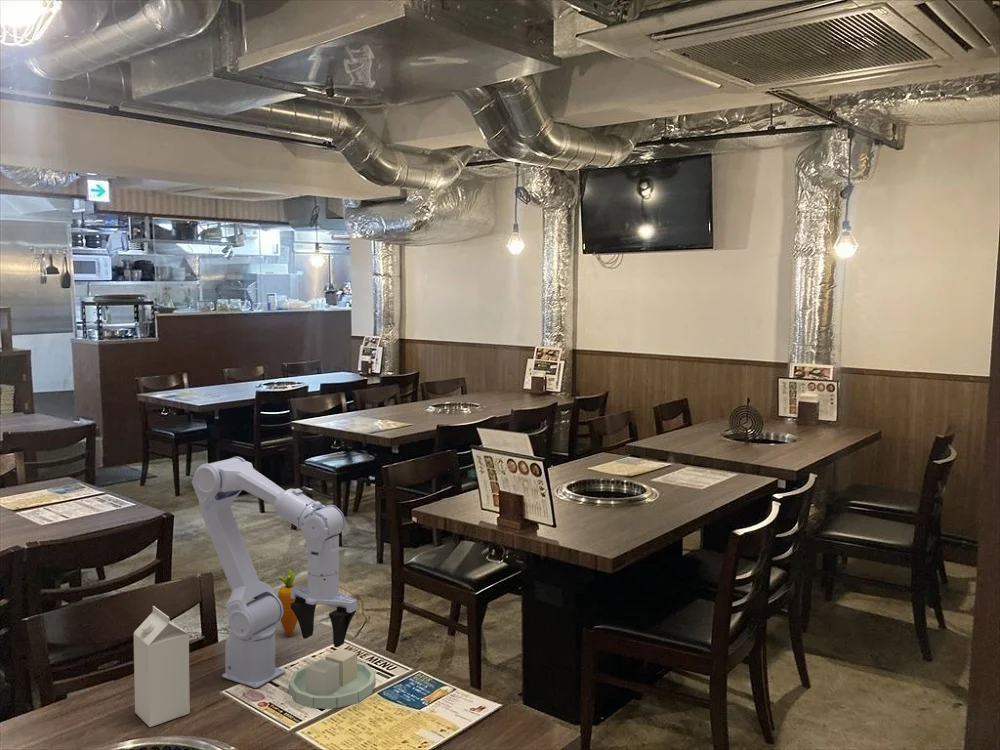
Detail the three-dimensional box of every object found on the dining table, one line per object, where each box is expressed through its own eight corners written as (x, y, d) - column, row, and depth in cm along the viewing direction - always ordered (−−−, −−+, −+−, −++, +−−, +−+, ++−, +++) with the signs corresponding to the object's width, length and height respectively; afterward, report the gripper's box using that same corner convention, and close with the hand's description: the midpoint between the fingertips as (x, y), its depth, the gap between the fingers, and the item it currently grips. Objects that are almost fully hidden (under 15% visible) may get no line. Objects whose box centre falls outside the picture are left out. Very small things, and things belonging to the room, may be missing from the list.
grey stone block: (305, 693, 149) (305, 667, 149) (321, 683, 153) (321, 658, 152) (324, 698, 147) (324, 672, 147) (339, 688, 151) (339, 663, 151)
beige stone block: (325, 680, 154) (325, 656, 154) (339, 671, 158) (339, 648, 157) (342, 686, 152) (342, 661, 152) (357, 677, 156) (357, 652, 155)
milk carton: (174, 699, 147) (172, 601, 145) (190, 714, 142) (188, 612, 140) (134, 713, 142) (132, 611, 140) (149, 728, 137) (147, 622, 135)
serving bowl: (272, 694, 149) (272, 684, 149) (327, 662, 163) (327, 652, 163) (338, 716, 142) (338, 705, 142) (390, 680, 156) (390, 670, 156)
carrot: (294, 641, 173) (294, 575, 172) (273, 639, 174) (273, 573, 173) (304, 632, 178) (304, 567, 177) (284, 630, 179) (284, 566, 178)
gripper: (279, 570, 148) (279, 640, 149) (340, 584, 141) (339, 657, 142) (304, 560, 154) (304, 627, 155) (364, 573, 148) (363, 643, 149)
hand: (323, 641), depth 149 cm, fingers open, 7 cm apart
